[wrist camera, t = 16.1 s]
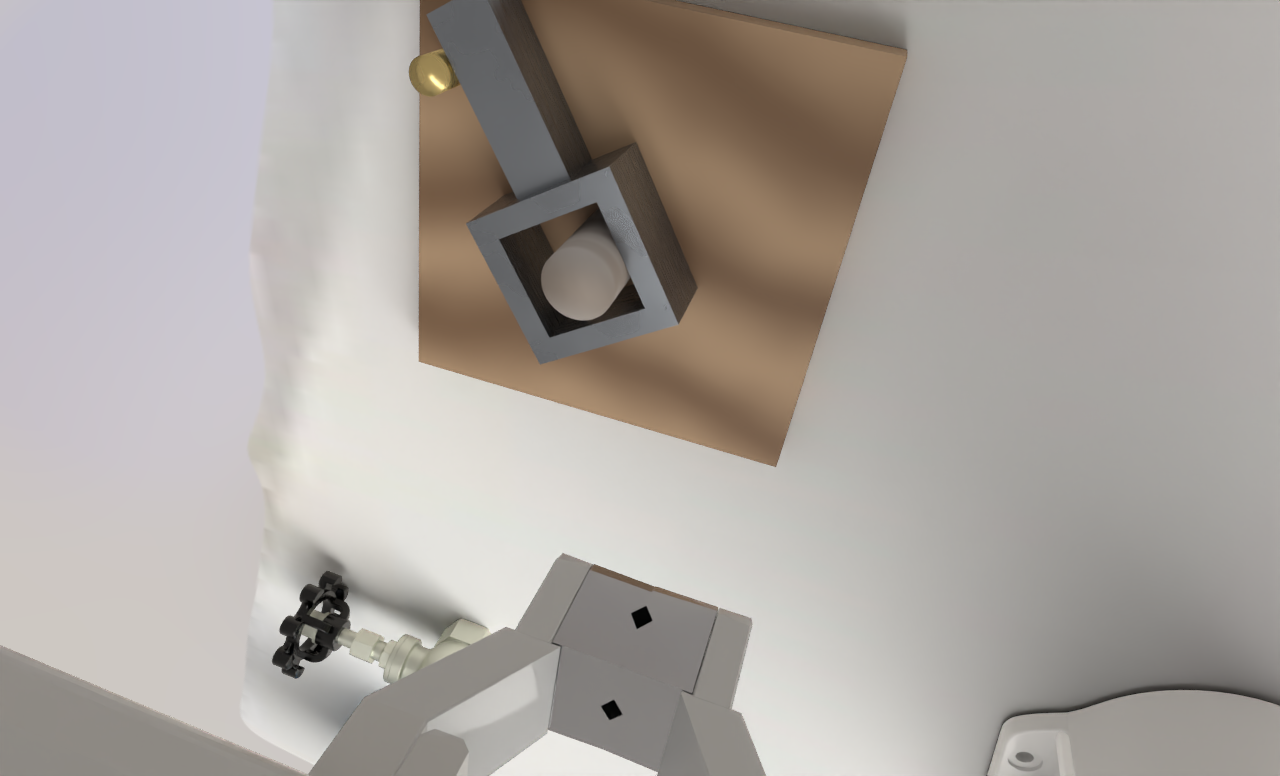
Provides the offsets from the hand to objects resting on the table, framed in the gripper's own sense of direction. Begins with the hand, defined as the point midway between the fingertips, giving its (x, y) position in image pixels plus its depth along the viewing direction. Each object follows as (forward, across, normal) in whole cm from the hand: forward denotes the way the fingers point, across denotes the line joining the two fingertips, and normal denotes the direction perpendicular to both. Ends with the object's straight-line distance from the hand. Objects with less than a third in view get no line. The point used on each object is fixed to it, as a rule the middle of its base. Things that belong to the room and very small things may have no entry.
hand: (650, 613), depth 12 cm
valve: (+24, +17, +34) cm, 45 cm away
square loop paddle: (+22, +10, +1) cm, 24 cm away
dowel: (+23, +14, -2) cm, 27 cm away
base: (+24, +7, +4) cm, 25 cm away
